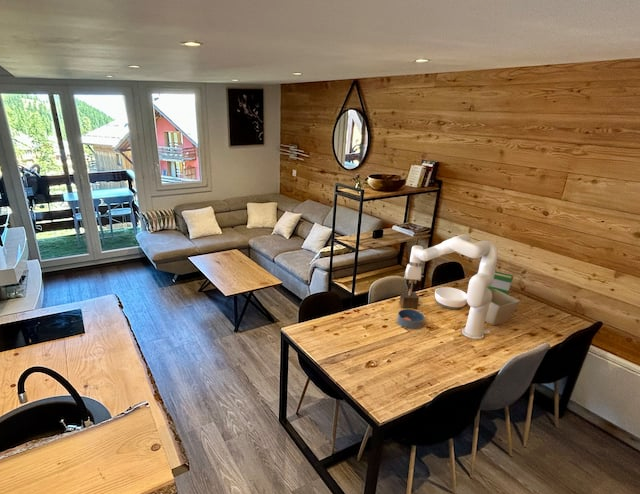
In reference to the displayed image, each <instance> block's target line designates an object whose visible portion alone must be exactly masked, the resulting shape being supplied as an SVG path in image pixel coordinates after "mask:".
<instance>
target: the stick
mask: <svg viewBox="0 0 640 494" xmlns="http://www.w3.org/2000/svg"><path fill="white" fill-rule="evenodd" d="M413 281H414V280H412V279H411V287H410V289H409V288H408V292H409V294H408V295H409V296H411V292H413V289H412V287H413Z"/></svg>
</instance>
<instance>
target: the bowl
mask: <svg viewBox="0 0 640 494" xmlns="http://www.w3.org/2000/svg"><path fill="white" fill-rule="evenodd" d="M434 298H435V300H436V304H437V305H439V306H440V307H442V308H443V309H446V310H452V311H453V310H454V311H457V310H461V309H463V308H464V306H466V305H467V304H468V303H467V292H465V291H464V290H461V289H460V288H455V287H450V286H441V287H438V288H436V289H435V290H434Z"/></svg>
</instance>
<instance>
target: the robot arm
mask: <svg viewBox="0 0 640 494" xmlns="http://www.w3.org/2000/svg"><path fill="white" fill-rule="evenodd" d="M454 252H456V253H457V254H461V255H462V256H465V257H467V258H470V259H480V258H481V259H480V262H479V267H478V271H477V273H476V274H474V275H473V276H471V277H470V279H469V281H468V286H467V292H466V293H467V303H466V304H468V306H469V307H470V308H469V311H468V315H467V319H466V325H465V327H463V328H462V329H461V333H462V335H463V336H465V337H466V338H469V339H472V340H483V339H484V337H485V334H487V335H488V334H491V330H488V329H487V328H484V327H485V322H486V321H485V319H486V315H487V311H488V308H489V305H490V303H491V300H492V292H491V291H490V290H489V289H488V288H487V287H489V286H490V285H492V283H493V281H494V275H495V271H496V269H497V264H498V259H499V252H498V249H497V247H496V245H495V244H494V243H493V242H491V241H490V240H484V239H483V240H479V241H477V242H474V243H472V239H471V237H470V236H469V235H468V234H465V233H463V234H459V235H456V236H453V237H450V238H448V239H445V240H443V241H442V242H441V243H438V244H436V245H434V246H430V247H427V248H425V249H424V247H423V245H417V244H416V245H412V247H411V250H410V255H409V256H410V257H409V262H408V263H407V265H406V268H405V271H404V276H403V280H404V281H406V282H407V287H408V290H409V289H410V287H411V280H413V287H412V290H414V289H415V287H416V284H417V283H418V282H421V281H422V273H423V272H422V271H423V269H422V268H423V267H422V265H424V262H428V261H431V260H433V259H436V258H438V257H441V256H444V255H449V254H451V253H454Z"/></svg>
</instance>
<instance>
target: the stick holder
mask: <svg viewBox="0 0 640 494" xmlns="http://www.w3.org/2000/svg"><path fill="white" fill-rule="evenodd" d="M408 294H409V290H408V291H406V290H400V295H399V302H398V303H399V305H400V307H401V309H410V310H418V306H419V300H420V298H419V296H418V294H417V292H416V291H412V292H411V296H409V295H408Z"/></svg>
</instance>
